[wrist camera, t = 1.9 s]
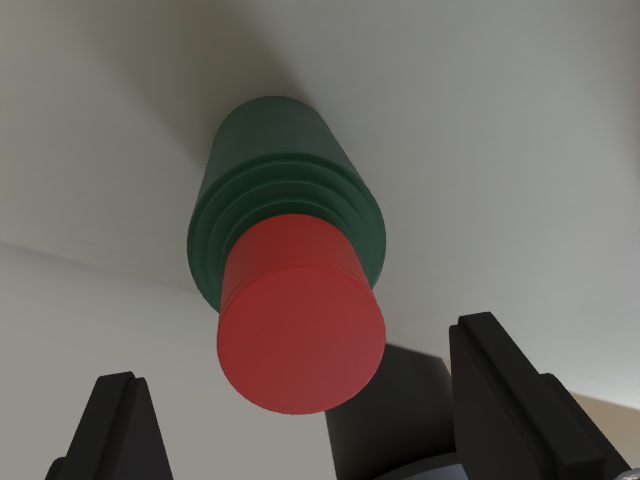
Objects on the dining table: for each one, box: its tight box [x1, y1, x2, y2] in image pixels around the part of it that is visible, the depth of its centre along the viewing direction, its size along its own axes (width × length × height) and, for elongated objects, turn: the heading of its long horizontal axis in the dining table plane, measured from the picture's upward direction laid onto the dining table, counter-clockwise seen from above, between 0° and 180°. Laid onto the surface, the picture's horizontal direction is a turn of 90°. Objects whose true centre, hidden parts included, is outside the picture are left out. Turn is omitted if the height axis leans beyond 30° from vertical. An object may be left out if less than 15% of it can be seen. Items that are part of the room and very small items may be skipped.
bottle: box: [187, 96, 386, 314], centre depth 23 cm, size 6×6×18 cm
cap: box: [217, 214, 386, 415], centre depth 16 cm, size 4×4×4 cm
